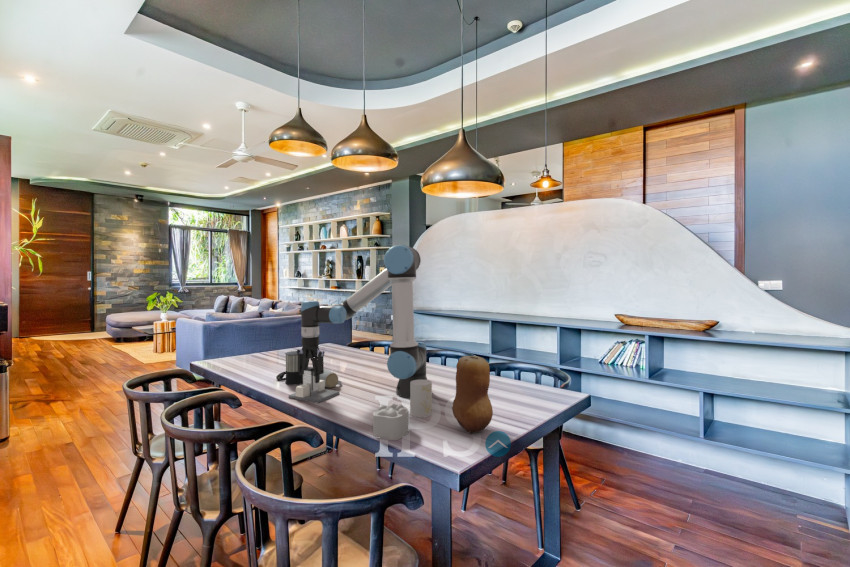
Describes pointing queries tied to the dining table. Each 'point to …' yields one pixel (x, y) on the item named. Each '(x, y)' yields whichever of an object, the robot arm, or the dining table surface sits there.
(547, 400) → the dining table surface
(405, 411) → the lumpy-topped squat cylinder
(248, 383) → the dining table surface
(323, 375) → the ceramic mug
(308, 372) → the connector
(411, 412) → the cup
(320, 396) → the board
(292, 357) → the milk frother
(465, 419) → the butternut squash
